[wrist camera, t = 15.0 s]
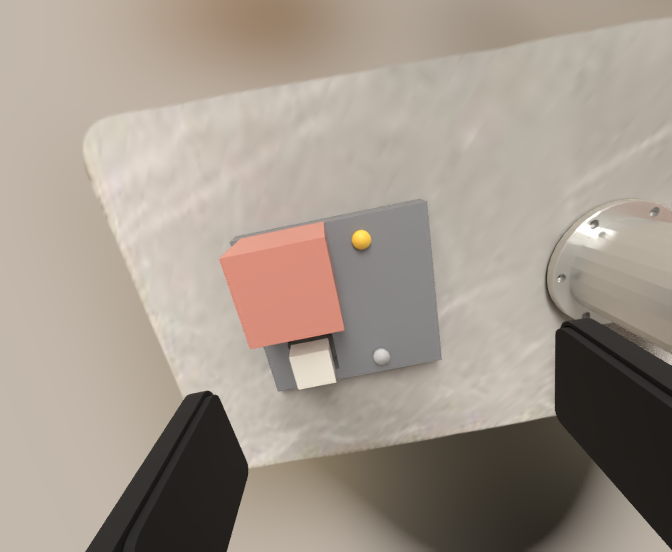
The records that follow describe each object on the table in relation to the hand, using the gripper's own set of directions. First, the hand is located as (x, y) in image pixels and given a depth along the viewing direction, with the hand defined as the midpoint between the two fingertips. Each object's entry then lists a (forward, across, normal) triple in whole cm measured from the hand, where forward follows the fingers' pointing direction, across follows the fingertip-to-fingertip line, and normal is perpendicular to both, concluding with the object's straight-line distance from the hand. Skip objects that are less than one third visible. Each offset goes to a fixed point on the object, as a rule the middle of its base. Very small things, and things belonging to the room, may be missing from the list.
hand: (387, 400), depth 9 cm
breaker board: (+22, +2, +6) cm, 22 cm away
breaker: (+19, +6, +10) cm, 22 cm away
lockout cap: (+19, +6, +1) cm, 20 cm away
